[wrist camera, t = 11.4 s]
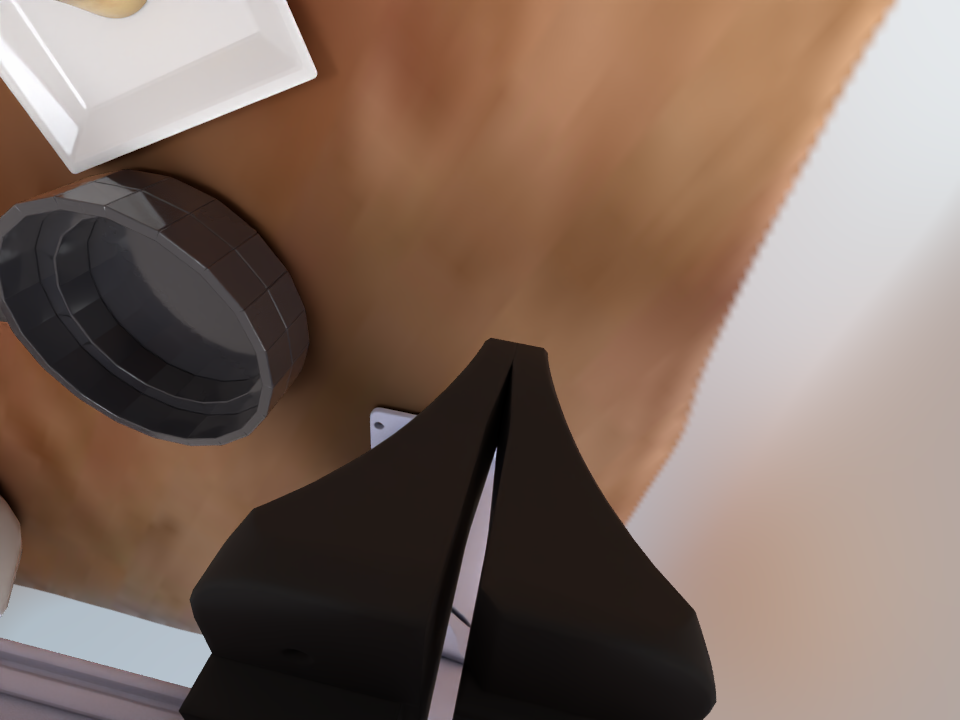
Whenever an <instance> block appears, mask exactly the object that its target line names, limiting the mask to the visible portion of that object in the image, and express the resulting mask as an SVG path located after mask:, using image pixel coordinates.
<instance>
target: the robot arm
mask: <svg viewBox="0 0 960 720" xmlns="http://www.w3.org/2000/svg"><path fill="white" fill-rule="evenodd" d="M378 422H380V423H382V424H380V423H378ZM370 430H371V450H369V451H368V452H366V453H365V454H363V455H361V456H360V457H358V458H356V459H355V460H353V461H351V462H350V463H348V464H346V465H344V466H342V467H340V468H339V469H337V470H335V471H333V472H331V473H330V474H328V475H326V476H324V477H322V478H321V479H319V480H317V481H315V482H313V483H311V484H309V485H307V486H305V487H303V488H300V489H298V490H296V491H294V492H291V493H289V494H287V495H285V496H282V497H280V498H278V499H276V500H273V501H271V502H269V503H267V504H264V505H262V506H259V507H257V508H254V509H253V510H252V511H251V512H250V513H249V514H248V516H247V517H246V518H245V519H244V520H243V522H242V523H241V524H240V525H239V526H238V528H237V529H236V530H235V531H234V532H233V533H232V535H231V536H230V537H229V538H228V539H227V541H226V542H225V543H224V545H223V546H222V547H221V549H220V550H219V552H218V553H217V555H216V556H215V558H214V559H213V561H212V562H211V564H210V565H209V567H208V568H207V570H206V571H205V573H204V574H203V576H202V577H201V579H200V580H199V582H198V583H197V585H196V586H195V588H194V589H193V592H192V594H191V597H190V603H191V607H192V611H193V615H194V618H195V620H196V622H197V624H198V626H199V628H200V630H201V632H202V634H203V636H204V638H205V640H206V642H207V644H208V646H209V648H210V650H211V652H212V654H211V655H210V657H209V659H208V660H207V662H206V664H205V666H204V667H203V669H202V671H201V673H200V674H199V676H198V678H197V679H196V681H195V683H194V685H193V687H192V688H188V687H184V686H180V685H177V684H173V683H169V682H165V681H161V680H158V679H154V678H150V677H147V676H143V675H139V674H135V673H131V672H128V671H124V670H120V669H116V668H113V667H109V666H105V665H101V664H98V663H94V662H90V661H86V660H82V659H79V658H75V657H71V656H67V655H63V654H60V653H56V652H52V651H49V650H45V649H41V648H37V647H33V646H29V645H26V644H22V643H18V642H15V641H10V640H7V639H3V638H0V720H703V719H704V718H705V717H706V716H707V715H708V714H709V713H710V711H711V710H712V708H713V706H714V705H715V703H716V689H715V683H714V675H713V670H712V666H711V661H710V658H709V654H708V651H707V647H706V644H705V640H704V637H703V634H702V631H701V628H700V625H699V621H698V618H697V615H696V612H695V611H694V609H693V608H692V607H691V606H690V605H689V604H688V603H687V601H686V600H685V599H684V598H683V597H682V596H681V595H680V594H679V593H678V591H677V590H676V589H675V588H674V587H673V586H672V585H671V584H670V583H669V581H668V580H667V579H666V578H665V577H664V576H663V575H662V574H661V573H660V571H659V570H658V569H657V568H656V567H655V566H654V565H653V563H652V562H651V561H650V560H649V558H648V557H647V556H646V554H645V553H644V552H643V551H642V549H641V548H640V547H639V546H638V544H637V543H636V542H635V540H634V539H633V538H632V536H631V535H630V534H629V532H628V530H627V529H626V528H625V526H624V525H623V523H622V522H621V520H620V519H619V517H618V516H617V515H616V513H615V512H614V510H613V509H612V507H611V506H610V505H609V503H608V502H607V500H606V498H605V497H604V495H603V493H602V492H601V490H600V488H599V487H598V485H597V483H596V482H595V480H594V478H593V477H592V475H591V473H590V471H589V469H588V467H587V466H586V464H585V462H584V460H583V458H582V456H581V454H580V452H579V450H578V448H577V446H576V444H575V441H574V439H573V437H572V434H571V432H570V430H569V428H568V425H567V423H566V420H565V418H564V415H563V412H562V409H561V406H560V404H559V401H558V398H557V395H556V392H555V388H554V385H553V381H552V377H551V373H550V368H549V363H548V353H547V352H546V350H545V349H544V348H540V347H535V346H530V345H525V344H520V343H515V342H510V341H504V340H499V339H494V338H490V339H488V340H486V341H485V343H484V344H483V346H482V348H481V349H480V350H479V352H478V353H477V355H476V356H475V357H474V358H473V360H472V361H471V362H470V363H469V365H468V366H467V367H466V368H465V369H464V370H463V371H462V373H461V374H460V375H459V376H458V377H457V378H456V379H455V380H454V381H453V382H452V383H451V384H450V386H449V387H448V388H447V389H446V390H445V391H444V392H442V393H441V394H440V395H439V396H438V397H437V398H436V399H435V400H434V401H433V402H432V403H431V404H430V405H429V406H427V407H426V408H425V409H424V410H423V411H422V412H421V413H420V414H418V415H414V414H409V413H405V412H400V411H395V410H390V409H385V408H380V407H377V408H374V409H373V410H372V412H371V414H370Z"/></svg>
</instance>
